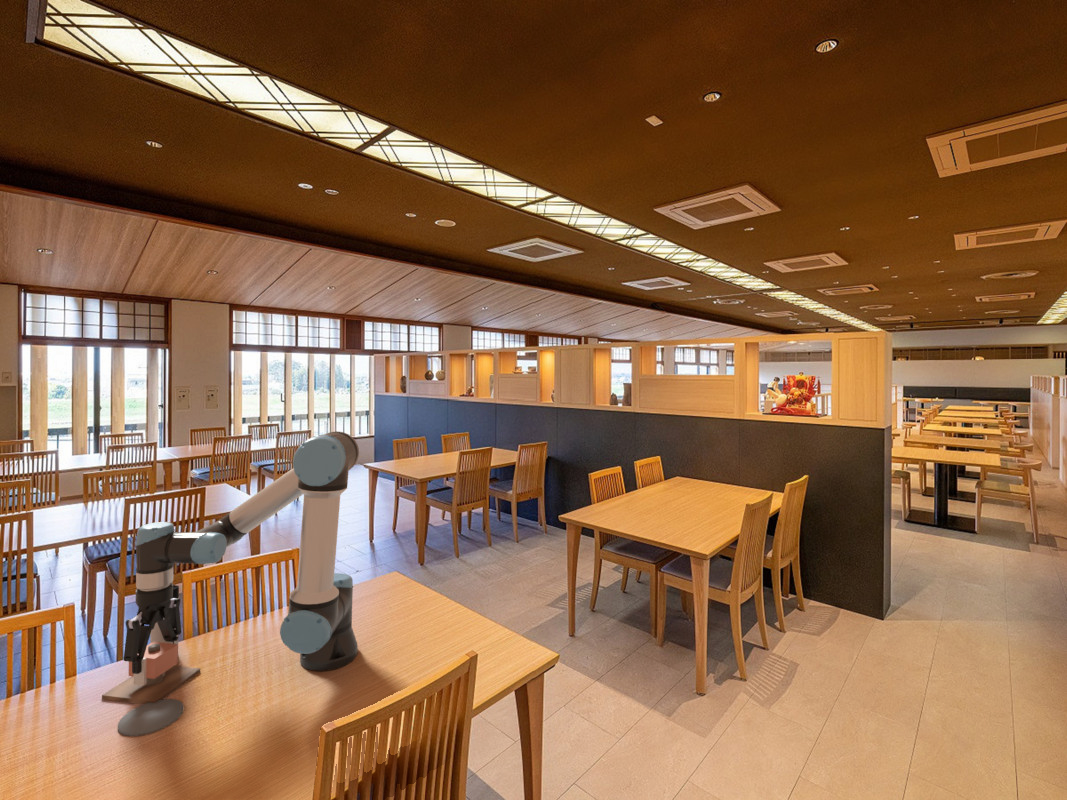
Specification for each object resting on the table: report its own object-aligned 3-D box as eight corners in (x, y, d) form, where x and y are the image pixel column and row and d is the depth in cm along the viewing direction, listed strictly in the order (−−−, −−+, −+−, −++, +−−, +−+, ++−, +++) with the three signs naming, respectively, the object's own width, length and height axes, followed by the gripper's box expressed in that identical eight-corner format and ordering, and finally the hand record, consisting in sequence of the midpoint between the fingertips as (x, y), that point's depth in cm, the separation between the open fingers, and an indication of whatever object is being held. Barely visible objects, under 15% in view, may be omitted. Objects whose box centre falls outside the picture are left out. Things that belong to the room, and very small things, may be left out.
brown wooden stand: (200, 672, 133) (200, 646, 133) (154, 705, 119) (155, 676, 119) (152, 667, 135) (152, 641, 135) (101, 699, 121) (102, 670, 121)
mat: (196, 704, 120) (196, 701, 120) (152, 739, 108) (153, 736, 108) (150, 698, 122) (150, 696, 122) (102, 732, 110) (103, 730, 110)
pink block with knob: (177, 663, 130) (178, 640, 130) (154, 678, 123) (154, 654, 123) (153, 660, 131) (153, 637, 131) (128, 676, 124) (128, 652, 124)
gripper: (173, 569, 137) (172, 653, 137) (103, 601, 117) (102, 698, 117) (199, 572, 136) (197, 655, 136) (132, 603, 116) (131, 701, 117)
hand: (153, 675), depth 127 cm, fingers closed on pink block with knob, 7 cm apart
